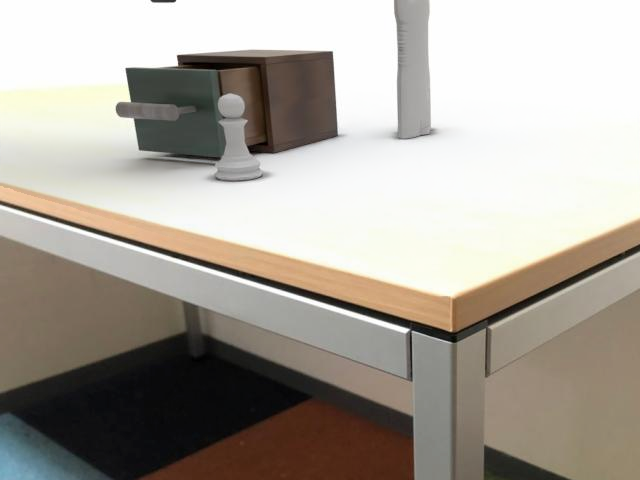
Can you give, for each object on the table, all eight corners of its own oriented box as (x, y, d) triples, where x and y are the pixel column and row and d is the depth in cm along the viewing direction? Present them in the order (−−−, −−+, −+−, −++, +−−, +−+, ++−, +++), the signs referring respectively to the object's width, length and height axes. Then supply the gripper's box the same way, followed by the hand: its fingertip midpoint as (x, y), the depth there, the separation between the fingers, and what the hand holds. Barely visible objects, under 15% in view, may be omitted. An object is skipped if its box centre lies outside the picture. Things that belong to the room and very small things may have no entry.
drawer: (192, 164, 76) (179, 73, 73) (108, 157, 80) (92, 70, 77) (291, 139, 91) (285, 62, 88) (216, 134, 95) (207, 60, 92)
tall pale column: (415, 139, 96) (412, -52, 88) (386, 138, 98) (379, -51, 89) (441, 128, 106) (440, -46, 97) (414, 127, 107) (410, -45, 98)
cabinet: (274, 153, 88) (265, 56, 83) (189, 146, 92) (176, 54, 88) (338, 135, 100) (333, 51, 96) (260, 130, 104) (252, 49, 100)
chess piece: (205, 179, 74) (194, 94, 71) (231, 170, 78) (222, 90, 75) (247, 182, 72) (237, 96, 69) (271, 173, 77) (264, 91, 73)
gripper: (45, -211, 66) (84, 2, 73) (158, -230, 61) (188, 1, 68) (112, -192, 73) (142, 3, 79) (219, -208, 67) (241, 2, 74)
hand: (163, 2), depth 74 cm, fingers closed
